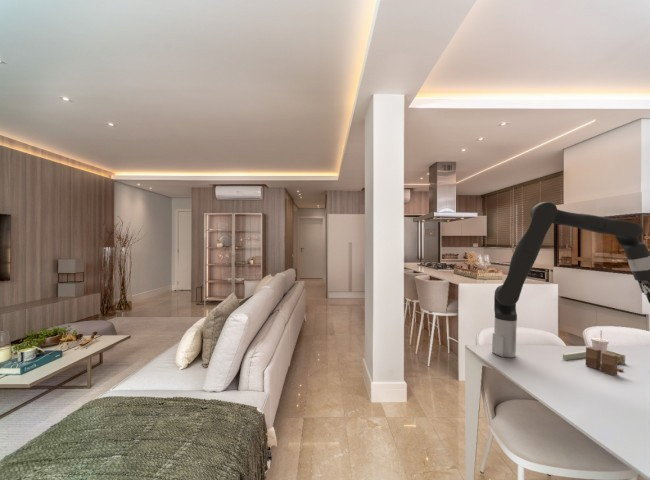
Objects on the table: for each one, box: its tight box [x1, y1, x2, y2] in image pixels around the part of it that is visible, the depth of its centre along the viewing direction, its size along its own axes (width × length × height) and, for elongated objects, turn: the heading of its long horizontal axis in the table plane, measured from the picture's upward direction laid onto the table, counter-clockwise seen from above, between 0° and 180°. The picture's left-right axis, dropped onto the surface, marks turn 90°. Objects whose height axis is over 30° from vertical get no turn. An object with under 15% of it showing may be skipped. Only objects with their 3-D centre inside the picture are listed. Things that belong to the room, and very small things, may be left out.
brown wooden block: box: [600, 352, 624, 376], centre depth 130 cm, size 10×4×8 cm, turn 108°
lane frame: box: [562, 349, 626, 365], centre depth 142 cm, size 24×11×4 cm, turn 108°
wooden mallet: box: [585, 346, 622, 370], centre depth 141 cm, size 20×10×8 cm, turn 108°
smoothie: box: [590, 329, 610, 362], centre depth 144 cm, size 6×6×14 cm
